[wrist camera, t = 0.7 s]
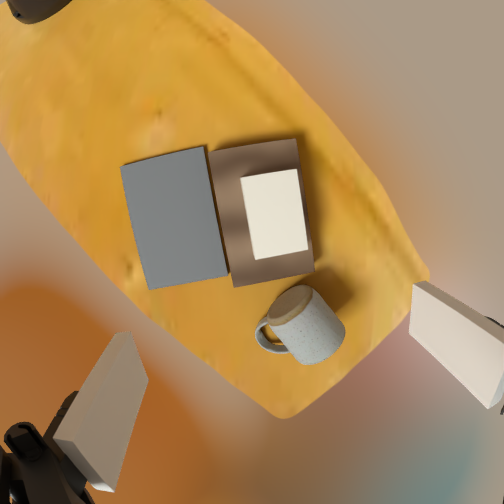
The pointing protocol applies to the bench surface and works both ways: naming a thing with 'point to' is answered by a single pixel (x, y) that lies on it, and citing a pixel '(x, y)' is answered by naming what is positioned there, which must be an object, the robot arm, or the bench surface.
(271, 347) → the ceramic mug
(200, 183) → the mat
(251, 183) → the white rectangular block
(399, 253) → the bench surface
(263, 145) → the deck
